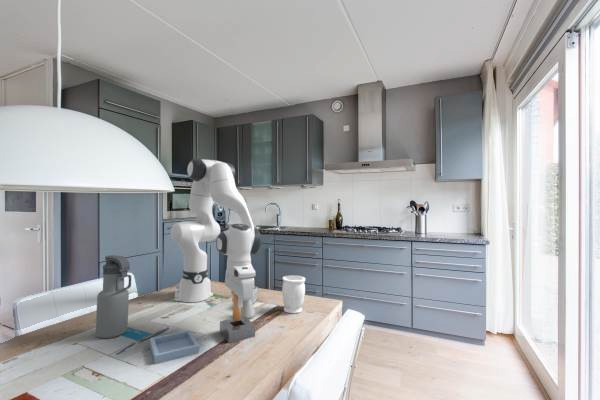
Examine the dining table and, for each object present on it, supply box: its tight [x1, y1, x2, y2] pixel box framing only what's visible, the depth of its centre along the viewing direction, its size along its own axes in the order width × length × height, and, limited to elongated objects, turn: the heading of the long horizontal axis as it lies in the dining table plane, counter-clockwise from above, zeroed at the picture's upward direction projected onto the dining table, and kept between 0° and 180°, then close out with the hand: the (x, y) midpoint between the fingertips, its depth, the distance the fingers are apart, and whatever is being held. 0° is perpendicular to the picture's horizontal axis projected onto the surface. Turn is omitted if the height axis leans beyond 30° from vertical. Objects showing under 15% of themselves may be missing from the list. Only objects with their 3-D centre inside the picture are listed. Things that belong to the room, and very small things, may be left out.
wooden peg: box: [232, 290, 242, 321], centre depth 108 cm, size 4×4×11 cm
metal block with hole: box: [219, 316, 256, 344], centre depth 108 cm, size 10×10×4 cm
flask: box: [241, 299, 256, 320], centre depth 125 cm, size 7×7×10 cm
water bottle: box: [95, 254, 132, 339], centre depth 106 cm, size 10×10×28 cm
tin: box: [243, 285, 259, 305], centre depth 139 cm, size 15×3×8 cm, turn 168°
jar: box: [281, 274, 306, 314], centre depth 134 cm, size 11×10×15 cm
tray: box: [149, 329, 200, 365], centre depth 96 cm, size 13×13×2 cm
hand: (237, 304), depth 108 cm, fingers closed on wooden peg, 4 cm apart
